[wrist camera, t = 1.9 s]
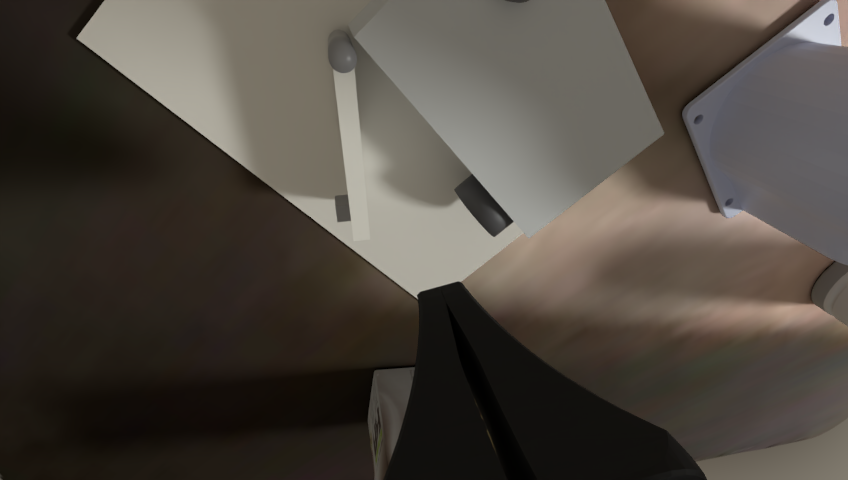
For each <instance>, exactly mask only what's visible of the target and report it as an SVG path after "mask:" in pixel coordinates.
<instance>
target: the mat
mask: <svg viewBox="0 0 848 480" xmlns="http://www.w3.org/2000/svg"><path fill="white" fill-rule="evenodd" d="M370 1H371V0H105V1H104V2H103V3H102V5H101V6H100V7H99V9H98V10H97V11H96V13H95V14H94V15H93V17H92V18H91V19H90V21H89V22H88V23H87V25H86V26H85V27H84V29H83V30H82V31H81V33H80V34H79V35H78V37H77V39H78V40H79V41H81V42H82V43H83V44H84V45H86V46H87V47H88V48H90V49H91V50H92V51H94V52H95V53H96V54H98V55H99V56H100V57H102V58H103V59H104V60H105V61H107V62H108V63H109V64H111V65H112V66H113V67H115V68H116V69H117V70H119V71H120V72H121V73H122V74H124V75H125V76H126V77H128V78H129V79H130V80H132V81H133V82H134V83H136V84H137V85H138V86H139V87H141V88H142V89H143V90H145V91H146V92H147V93H149V94H150V95H151V96H153V97H154V98H155V99H156V100H158V101H159V102H160V103H162V104H163V105H164V106H166V107H167V108H168V109H170V110H171V111H172V112H173V113H175V114H176V115H177V116H179V117H180V118H181V119H183V120H184V121H185V122H187V123H188V124H189V125H190V126H192V127H193V128H194V129H196V130H197V131H198V132H200V133H201V134H202V135H204V136H205V137H206V138H207V139H209V140H210V141H211V142H213V143H214V144H215V145H217V146H218V147H219V148H221V149H222V150H223V151H224V152H226V153H227V154H228V155H230V156H231V157H232V158H234V159H235V160H236V161H238V162H239V163H240V164H241V165H243V166H244V167H245V168H247V169H248V170H249V171H251V172H252V173H253V174H255V175H256V176H257V177H258V178H260V179H261V180H262V181H264V182H265V183H266V184H268V185H269V186H270V187H272V188H273V189H274V190H275V191H277V192H278V193H279V194H281V195H282V196H283V197H285V198H286V199H287V200H289V201H290V202H291V203H292V204H294V205H295V206H296V207H298V208H299V209H300V210H302V211H303V212H304V213H306V214H307V215H308V216H309V217H311V218H312V219H313V220H315V221H316V222H317V223H319V224H320V225H321V226H323V227H324V228H325V229H327V230H328V231H329V232H330V233H332V234H333V235H334V236H336V237H337V238H338V239H340V240H341V241H342V242H344V243H345V244H346V245H347V246H349V247H350V248H351V249H353V250H354V251H355V252H357V253H358V254H359V255H361V256H362V257H363V258H364V259H366V260H367V261H368V262H370V263H371V264H372V265H374V266H375V267H376V268H378V269H379V270H380V271H381V272H383V273H384V274H385V275H387V276H388V277H389V278H391V279H392V280H393V281H395V282H396V283H397V284H398V285H400V286H401V287H402V288H404V289H405V290H406V291H408V292H409V293H410V294H412V295H413V296H414V297H415V298H417V295H418V294H419V292H421V291H425V290H428V289H432V288H436V287H439V286H443V285H447V284H450V283H454V282H458V281H459V282H461V281H462V280H464V279H465V278H466V277H468V276H469V275H470V274H471V273H473V272H474V271H475V270H477V269H478V268H479V267H480V266H482V265H483V264H484V263H486V262H487V261H488V260H489V259H491V258H492V257H493V256H495V255H496V254H497V253H498V252H500V251H501V250H502V249H504V248H505V247H506V246H507V245H509V244H510V243H511V242H512V241H514V240H515V239H516V238H518V237H519V236H520V235H521V234H523V231H522V230H521V229H520V228H519V227H518V226H517V225H516V223H515V222H513V223H512V224H511V225H509V226H508V227H507V228H505V229H504V230H503V231H502V232H500V233H499V234H498V235H497V236H495V237H493V236H491V235H490V234H489V233H488V232H487V231H486V230H485V229H484V228H483V227H482V226H481V224H480V223H479V222H478V221H477V220H476V219H475V218H474V216H473V215H472V214H471V213H470V211H469V210H468V209H467V208H466V206H465V205H464V204H463V202H462V201H461V200H460V198H459V197H458V195H457V194H456V192H455V190H454V189H455V188H456V187H457V186H458V185H460V184H461V183H462V182H463V181H464V180H465V179H467V178H468V177H469V176H470V175H471V174H472V173H471V172H470V170H469V169H468V168H467V167H466V166H465V165H464V163H463V162H462V161H461V160H460V159H459V158H458V157H457V155H456V154H455V153H454V152H453V151H452V150H451V149H450V147H449V146H448V145H447V144H446V143H445V142H444V140H443V139H442V138H441V137H440V136H439V135H438V134H437V132H436V131H435V130H434V129H433V128H432V127H431V125H430V124H429V123H428V122H427V121H426V120H425V119H424V117H423V116H422V115H421V114H420V113H419V112H418V110H417V109H416V108H415V107H414V106H413V105H412V104H411V102H410V101H409V100H408V99H407V98H406V97H405V95H404V94H403V93H402V92H401V91H400V90H399V89H398V87H397V86H396V85H395V84H394V83H393V82H392V81H391V79H390V78H389V77H388V76H387V75H386V74H385V72H384V71H383V70H382V69H381V68H380V67H379V66H378V64H377V63H376V62H375V61H374V60H373V59H372V57H371V56H370V55H369V54H368V53H367V52H366V51H365V49H364V48H363V47H362V46H361V45H360V44H359V42H358V41H357V40H356V39H355V38H354V36H353V34H352V32H351V30H350V28H349V26H348V24H349V23H350V22H351V21H352V20H353V19H354V18H355V17H356V16H357V15H358V14H359V13H360V12H361V11H362V10H363V9H364V7H365V6H366V5H367V4H368V3H369V2H370ZM334 30H343V31H345V32H346V33H347V34H348V35H349V37H350V39H351V42H352V45H353V47H354V50H355V52H356V55H357V63H356V66H355V67H354V68H355V79H356V90H357V101H358V112H359V123H360V133H361V144H362V155H363V166H364V177H365V188H366V199H367V209H368V220H369V231H370V240H361V241H353V232H352V224H351V221H346V222H337V215H336V208H335V196H337V195H348V191H347V182H346V174H345V166H344V157H343V149H342V141H341V132H340V124H339V116H338V107H337V99H336V91H335V82H334V74H333V68H332V67H331V65H330V63H329V59H328V37H329V35H330V33H331V32H333V31H334ZM417 299H418V298H417Z"/></svg>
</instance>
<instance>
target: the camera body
mask: <svg viewBox="0 0 848 480" xmlns="http://www.w3.org/2000/svg"><path fill="white" fill-rule="evenodd" d="M348 26H349V28H350V30H351V32H352V34H353V36H354V38H355V39H356V40H357V41H358V42H359V44H360V45H361V46H362V47H363V48H364V49H365V51H366V52H367V53H368V54H369V55H370V56H371V57H372V59H373V60H374V61H375V62H376V63H377V64H378V66H379V67H380V68H381V69H382V70H383V71H384V72H385V74H386V75H387V76H388V77H389V78H390V79H391V81H392V82H393V83H394V84H395V85H396V86H397V87H398V89H399V90H400V91H401V92H402V93H403V94H404V95H405V97H406V98H407V99H408V100H409V101H410V102H411V104H412V105H413V106H414V107H415V108H416V109H417V110H418V112H419V113H420V114H421V115H422V116H423V117H424V119H425V120H426V121H427V122H428V123H429V124H430V125H431V127H432V128H433V129H434V130H435V131H436V132H437V134H438V135H439V136H440V137H441V138H442V139H443V140H444V142H445V143H446V144H447V145H448V146H449V147H450V149H451V150H452V151H453V152H454V153H455V154H456V155H457V157H458V158H459V159H460V160H461V161H462V162H463V163H464V165H465V166H466V167H467V168H468V169H469V170H470V172H471V173H472V174H471V175H470V176H469V177H468V178H467V179H465V180H464V181H463V182H462V183H461V184H460V185H458V186H457V187H456V188H455V189H454V190H455V192H456V194H457V195H458V197H459V198H460V200H461V201H462V202H463V204H464V205H465V206H466V208H467V209H468V210H469V211H470V213H471V214H472V215H473V216H474V218H475V219H476V220H477V221H478V222H479V223H480V224H481V226H482V227H483V228H484V229H485V230H486V231H487V232H488V233H489V234H490V235H491V236H493V237H495V236H497V235H498V234H499V233H500V232H502V231H503V230H504V229H505V228H507V227H508V226H509V225H511V224H512V223H513V222H515V223H516V225H517V226H518V227H519V228H520V229H521V230H522V231H523V233H524V234H525V235H526V236H527V237H528V238H530V237H532V236H533V235H534V234H535V233H537V232H538V231H539V230H541V229H542V228H543V227H544V226H546V225H547V224H548V223H550V222H551V221H552V220H554V219H555V218H556V217H557V216H559V215H560V214H561V213H563V212H564V211H565V210H566V209H568V208H569V207H570V206H572V205H573V204H574V203H576V202H577V201H578V200H579V199H581V198H582V197H583V196H585V195H586V194H587V193H588V192H590V191H591V190H592V189H594V188H595V187H596V186H598V185H599V184H600V183H601V182H603V181H604V180H605V179H607V178H608V177H609V176H611V175H612V174H613V173H614V172H616V171H617V170H618V169H620V168H621V167H622V166H623V165H625V164H626V163H627V162H629V161H630V160H631V159H633V158H634V157H635V156H636V155H638V154H639V153H640V152H642V151H643V150H644V149H645V148H647V147H648V146H649V145H651V144H652V143H653V142H655V141H656V140H657V139H658V138H660V137H661V136H662V135H664V131H663V129H662V127H661V125H660V122H659V120H658V118H657V116H656V113H655V111H654V109H653V107H652V104H651V102H650V100H649V98H648V95H647V93H646V91H645V89H644V86H643V84H642V82H641V80H640V77H639V75H638V73H637V71H636V68H635V66H634V64H633V62H632V59H631V57H630V55H629V53H628V50H627V48H626V46H625V44H624V42H623V39H622V37H621V35H620V33H619V30H618V28H617V26H616V24H615V21H614V19H613V17H612V15H611V12H610V10H609V8H608V6H607V3H606V1H605V0H371V1H370V2H369V3H368V4H367V5H366V6H365V7H364V9H363V10H362V11H361V12H360V13H359V14H358V15H357V16H356V17H355V18H354V19H353V20H352V21H351V22H350V23H349V24H348Z"/></svg>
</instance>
